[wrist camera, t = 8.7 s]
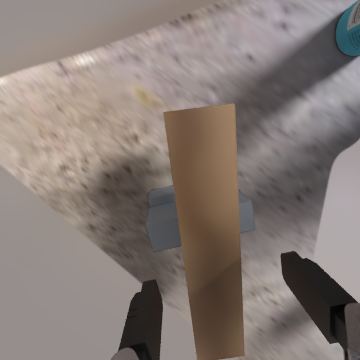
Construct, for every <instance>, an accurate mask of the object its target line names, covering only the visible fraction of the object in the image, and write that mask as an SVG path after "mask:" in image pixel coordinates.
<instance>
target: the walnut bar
mask: <svg viewBox="0 0 360 360" xmlns="http://www.w3.org/2000/svg"><path fill="white" fill-rule="evenodd" d="M164 120H165V127H166V134H167V142H168V149H169V156H170V164H171V171H172V178H173V186H174V193H175V200H176V208H177V215H178V222H179V230H180V237H181V244H182V252H183V259H184V266H185V273H186V281H187V288H188V295H189V303H190V310H191V317H192V325H193V332H194V339H195V346H196V354H197V360H218V359H226V358H233V357H240V356H245V355H244V328H243V302H242V276H241V249H240V223H239V197H238V170H237V144H236V118H235V103H233V104H225V105H217V106H209V107H201V108H193V109H185V110H177V111H169V112H164Z"/></svg>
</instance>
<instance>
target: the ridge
mask: <svg viewBox="0 0 360 360" xmlns="http://www.w3.org/2000/svg"><path fill="white" fill-rule="evenodd" d="M238 197H239V223H240V233H244V232H248V231H253V230H255V222H254V213H253V205H252V201H251V200H250V199H249V198H248V197H247V196H246V195H244V194H243V193H242V192H241V191H240V190H239V189H238ZM148 202H149V205H150V209H149V213H148V216H147V220H146V223H145V226H146V229H147V233H148V236H149V239H150V243H151V246H152V249H153V252H156V251H161V250H165V249H170V248H174V247H179V246H182V244H181V237H180V230H179V222H178V215H177V208H176V200H175V193H174V186H168V187H164V188H159V189H155V190H151V191H150V194H149V197H148Z"/></svg>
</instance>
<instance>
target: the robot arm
mask: <svg viewBox="0 0 360 360" xmlns="http://www.w3.org/2000/svg"><path fill="white" fill-rule="evenodd" d="M281 266H282V275H283V278H284V280H285V282H286V284H287V285H288V287H289V288H290V290H291V291H292V292H293V294H294V295H295V297H296V298H297V299H298V301H299V302H300V303H301V305H302V306H303V308H304V309H305V310H306V312H307V313H308V314H309V316H310V317H311V319H312V320H313V321H314V323H315V324H316V325H317V327H318V328H319V330H320V331H321V332H322V334H323V335H324V336H325V338H326V339H327V341H328V342H329V343H330V344H332V343H337V342H338V343H339V344H340V345H341V346H342V348H343V354H344V360H360V303H358V302H357V301H356V300H355V299H354V298H353V297H352V296H351V295H349V294H348V293H347V292H346V291H345V290H344V289H343V288H342V287H341V286H340V285H339V284H338V283H337V282H336V281H335V280H334V279H332V278H331V277H330V276H329V275H328V274H327V273H326V272H324V270H323V269H322V268H321V267H320V266H319V265H318V264H317V263H314V262H313V261H311V260H309V259H307V258H304V259H302V258H301V257H300V256H299V255H298V254H297V253H296V252H295V251H291V252H286V253H282V254H281ZM162 312H163V304H162V298H161V295H160V291H159V288H158V285H157V282H156V280H150V281H145V282H143V285H142V290H141V292H138V293H136V294H135V295H134V297H133V299H132V300H131V303H130V307H129V312H128V315H127V319H126V322H125V327H124V331H123V334H122V338H121V343H120V347H119V350H118V352H117V353H116V354H115V355H114V356H113V357H112V359H111V360H160V344H161V326H162Z"/></svg>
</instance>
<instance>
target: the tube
mask: <svg viewBox="0 0 360 360" xmlns="http://www.w3.org/2000/svg"><path fill="white" fill-rule="evenodd" d="M336 41H337V44H338V47H339V49H340V50H341V51H342V52H343V53H345V54H347V55H350V56H357V55H360V0H358V1H357V2H356V3H354V4H353V5H352V6H350V7H349V8H348V9H347V10H346V11H345V12H344V13H343V15H342V17H341V18H340V20H339V23H338V25H337V28H336Z"/></svg>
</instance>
